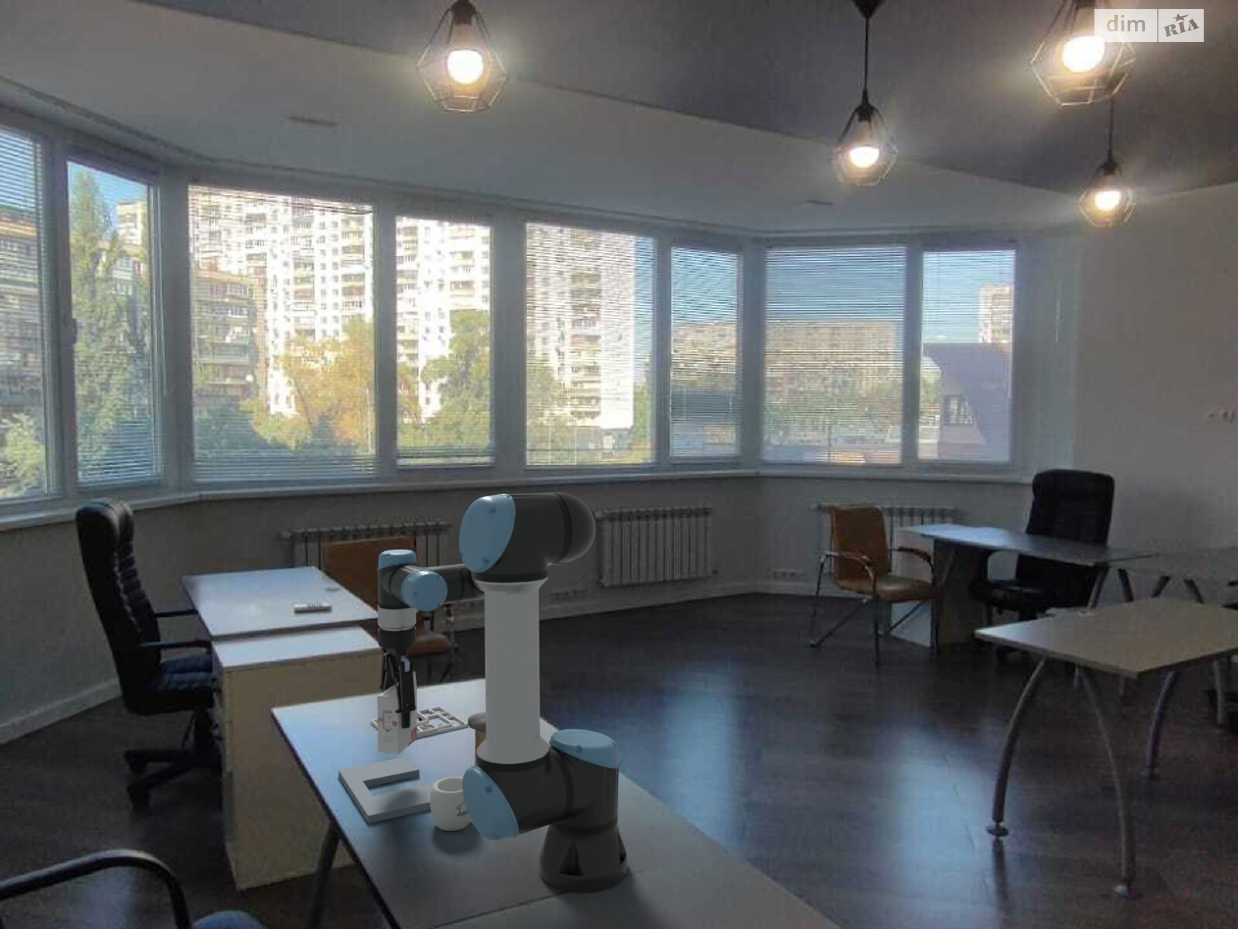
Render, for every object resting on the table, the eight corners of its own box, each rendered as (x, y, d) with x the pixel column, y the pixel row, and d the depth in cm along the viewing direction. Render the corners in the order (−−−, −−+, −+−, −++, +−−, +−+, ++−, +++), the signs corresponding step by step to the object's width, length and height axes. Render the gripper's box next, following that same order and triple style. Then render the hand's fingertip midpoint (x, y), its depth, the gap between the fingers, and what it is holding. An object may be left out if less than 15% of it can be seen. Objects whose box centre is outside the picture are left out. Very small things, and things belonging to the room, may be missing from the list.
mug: (439, 840, 156) (439, 797, 156) (423, 820, 164) (423, 780, 163) (500, 824, 163) (500, 783, 162) (482, 806, 170) (483, 767, 169)
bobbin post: (519, 791, 177) (519, 722, 176) (473, 802, 172) (473, 730, 171) (499, 773, 185) (500, 707, 185) (455, 783, 180) (455, 715, 179)
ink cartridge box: (395, 737, 181) (395, 668, 180) (417, 739, 180) (417, 670, 179) (376, 752, 173) (376, 680, 172) (399, 755, 172) (399, 682, 171)
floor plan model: (342, 726, 213) (342, 718, 213) (435, 707, 228) (435, 700, 228) (369, 750, 198) (369, 742, 198) (468, 728, 213) (468, 720, 213)
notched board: (445, 806, 170) (445, 798, 170) (368, 823, 162) (368, 815, 162) (408, 763, 190) (408, 756, 190) (338, 776, 183) (338, 770, 182)
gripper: (432, 636, 168) (432, 749, 169) (399, 613, 186) (399, 715, 188) (394, 641, 164) (394, 756, 165) (364, 616, 182) (364, 720, 184)
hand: (396, 734), depth 176 cm, fingers closed on ink cartridge box, 9 cm apart
